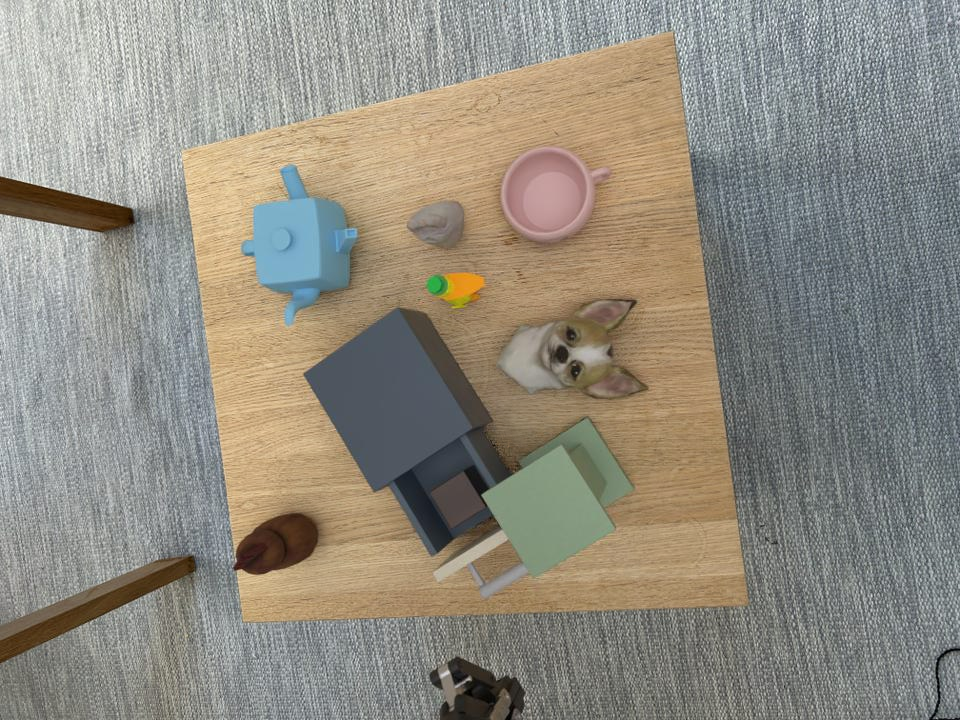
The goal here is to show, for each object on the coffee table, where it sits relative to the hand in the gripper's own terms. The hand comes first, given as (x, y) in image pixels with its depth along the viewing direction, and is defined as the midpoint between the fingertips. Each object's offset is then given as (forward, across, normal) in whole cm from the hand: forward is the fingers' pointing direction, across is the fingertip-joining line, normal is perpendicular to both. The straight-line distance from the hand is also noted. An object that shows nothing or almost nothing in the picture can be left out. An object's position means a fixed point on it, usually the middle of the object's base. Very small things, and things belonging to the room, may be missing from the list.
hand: (511, 689), depth 64 cm
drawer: (+20, -14, 0) cm, 24 cm away
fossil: (+21, -41, +14) cm, 48 cm away
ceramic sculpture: (+21, -22, +18) cm, 35 cm away
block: (+19, -16, 0) cm, 24 cm away
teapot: (+21, -48, 0) cm, 52 cm away
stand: (+21, -11, +11) cm, 26 cm away
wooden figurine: (+21, -22, -21) cm, 37 cm away
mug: (+21, -37, +26) cm, 50 cm away
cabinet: (+21, -28, 0) cm, 35 cm away
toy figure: (+21, -34, +12) cm, 42 cm away
